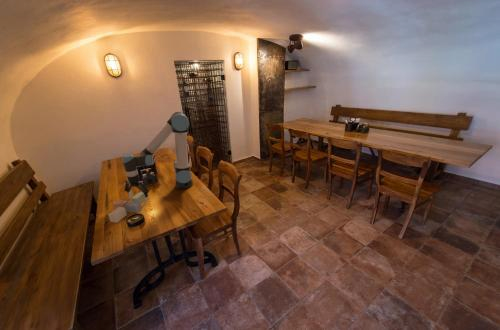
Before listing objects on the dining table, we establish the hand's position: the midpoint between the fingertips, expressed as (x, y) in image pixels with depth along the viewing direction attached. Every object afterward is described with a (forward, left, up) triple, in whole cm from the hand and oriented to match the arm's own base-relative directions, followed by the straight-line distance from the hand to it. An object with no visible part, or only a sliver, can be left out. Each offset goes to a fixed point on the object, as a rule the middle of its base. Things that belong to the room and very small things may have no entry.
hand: (139, 199), depth 160 cm
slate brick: (-4, +11, -2) cm, 12 cm away
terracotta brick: (+6, +11, -2) cm, 13 cm away
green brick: (0, 0, -2) cm, 2 cm away
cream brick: (0, +21, -2) cm, 21 cm away
